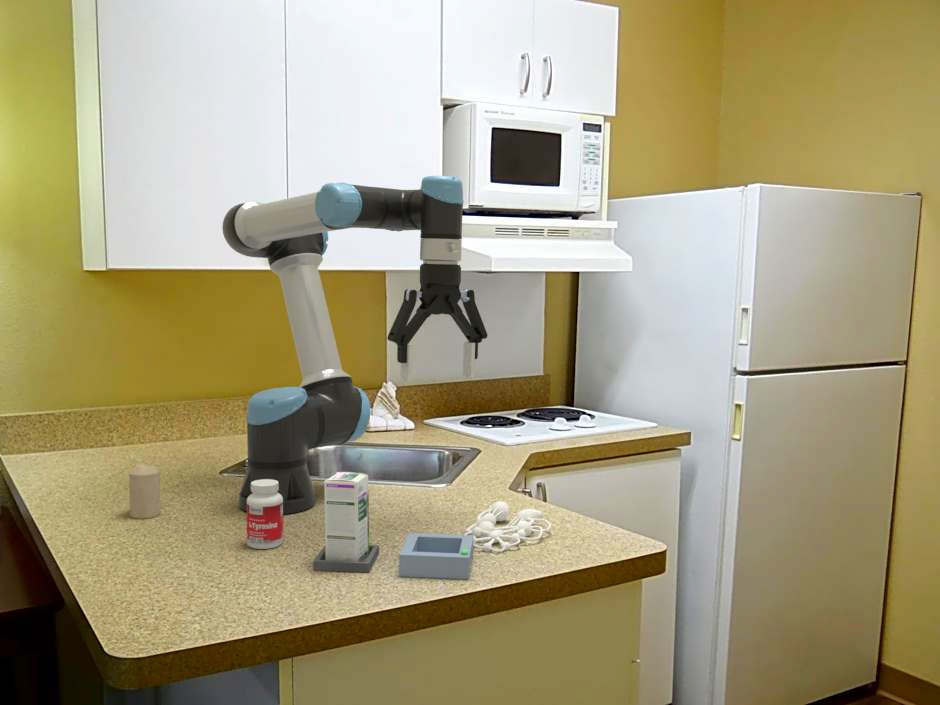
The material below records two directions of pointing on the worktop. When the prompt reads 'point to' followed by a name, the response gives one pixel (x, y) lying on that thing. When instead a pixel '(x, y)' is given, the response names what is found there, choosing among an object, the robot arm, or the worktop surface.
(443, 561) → the frame
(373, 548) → the grey picture frame
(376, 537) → the worktop surface
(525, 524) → the tangled rod sculpture
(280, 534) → the pill bottle
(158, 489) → the candle
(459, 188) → the robot arm
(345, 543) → the syrup box
